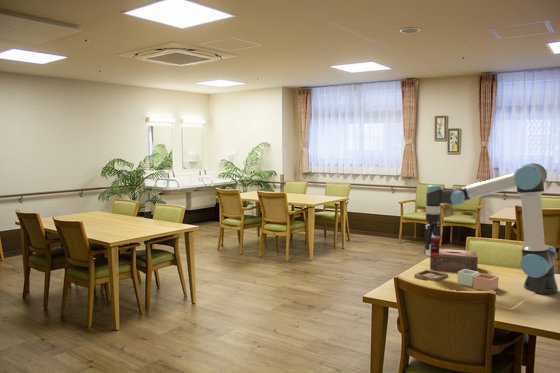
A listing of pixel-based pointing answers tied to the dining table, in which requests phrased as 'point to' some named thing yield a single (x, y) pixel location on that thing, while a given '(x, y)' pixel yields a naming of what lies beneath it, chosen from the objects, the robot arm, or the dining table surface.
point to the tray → (430, 275)
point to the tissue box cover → (454, 260)
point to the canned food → (434, 246)
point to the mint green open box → (466, 277)
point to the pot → (485, 282)
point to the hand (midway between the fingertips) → (431, 254)
